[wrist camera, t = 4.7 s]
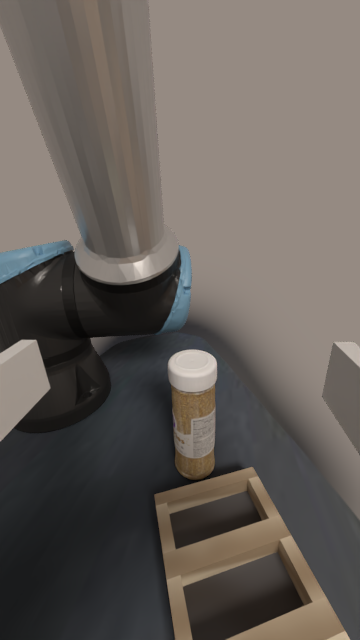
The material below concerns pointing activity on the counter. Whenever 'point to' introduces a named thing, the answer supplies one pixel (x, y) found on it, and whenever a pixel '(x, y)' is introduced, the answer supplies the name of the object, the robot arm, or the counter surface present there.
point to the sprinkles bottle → (193, 411)
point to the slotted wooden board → (237, 566)
